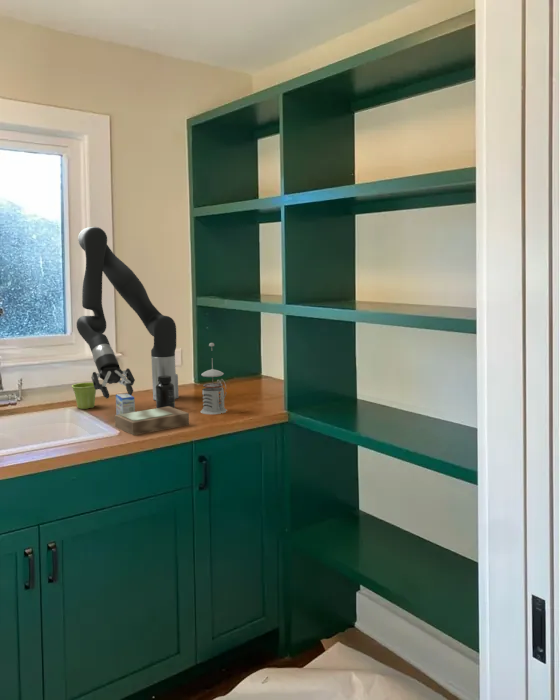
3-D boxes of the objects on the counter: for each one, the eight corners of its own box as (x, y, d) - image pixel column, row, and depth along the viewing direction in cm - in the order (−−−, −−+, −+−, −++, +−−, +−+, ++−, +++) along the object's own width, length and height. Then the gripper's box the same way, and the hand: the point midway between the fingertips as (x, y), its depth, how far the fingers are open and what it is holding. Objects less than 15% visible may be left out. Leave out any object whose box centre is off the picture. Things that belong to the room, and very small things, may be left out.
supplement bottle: (173, 405, 248) (172, 374, 247) (176, 409, 242) (175, 377, 240) (155, 407, 246) (153, 375, 245) (157, 411, 240) (156, 378, 238)
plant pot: (95, 409, 244) (94, 386, 242) (69, 410, 243) (68, 387, 242) (101, 404, 253) (100, 382, 252) (77, 405, 253) (75, 382, 252)
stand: (169, 417, 229) (168, 405, 229) (189, 424, 218) (188, 412, 218) (115, 426, 217) (114, 414, 217) (133, 435, 206) (132, 421, 206)
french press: (216, 407, 245) (214, 340, 241) (236, 411, 236) (234, 342, 233) (194, 411, 238) (192, 343, 235) (214, 416, 230) (211, 345, 226)
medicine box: (116, 418, 229) (114, 394, 228) (128, 416, 232) (127, 392, 230) (123, 423, 223) (121, 398, 221) (135, 421, 225) (134, 396, 224)
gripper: (88, 354, 230) (102, 391, 222) (126, 351, 238) (141, 386, 231) (83, 367, 235) (97, 404, 227) (121, 364, 243) (135, 399, 235)
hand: (119, 395), depth 229 cm, fingers open, 8 cm apart
